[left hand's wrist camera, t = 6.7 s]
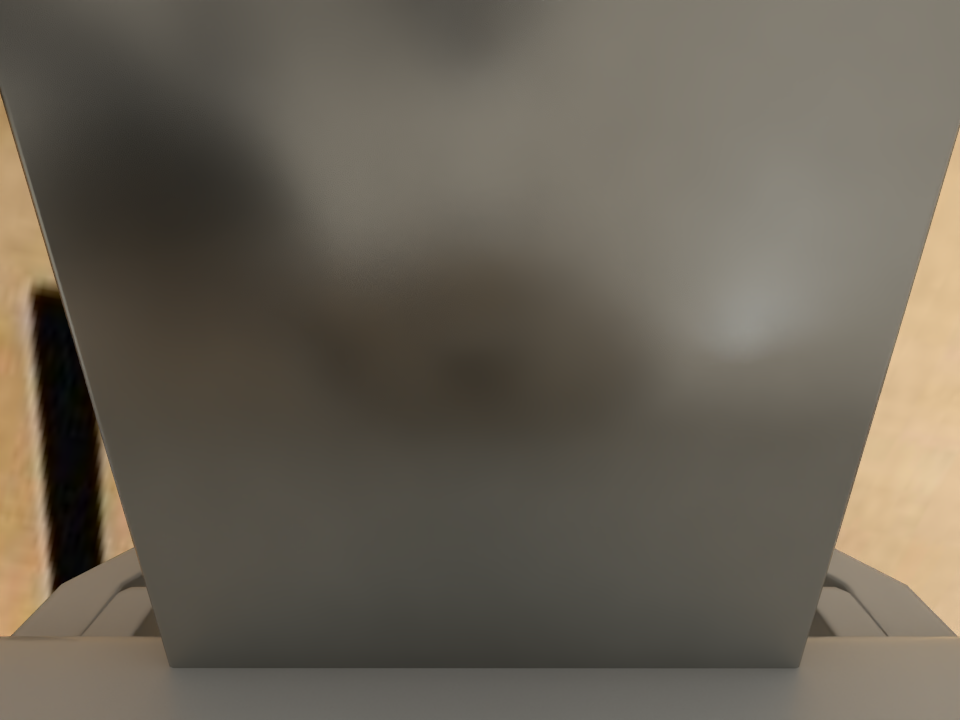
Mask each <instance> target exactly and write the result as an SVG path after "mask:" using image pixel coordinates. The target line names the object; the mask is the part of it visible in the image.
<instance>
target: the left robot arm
mask: <svg viewBox="0 0 960 720" xmlns="http://www.w3.org/2000/svg"><path fill="white" fill-rule="evenodd" d="M0 720H960V637H958V636H957V635H956V634H955V633H954V632H953V631H952V630H951V629H950V628H949V627H948V626H947V625H946V624H945V623H944V622H943V621H942V620H941V619H940V618H939V617H938V616H937V615H936V614H935V613H934V612H933V611H932V610H931V609H930V608H929V607H928V606H927V605H926V604H925V603H924V602H923V601H922V600H921V599H920V598H919V597H918V596H917V595H916V594H915V593H914V592H913V591H912V590H911V589H910V588H909V587H908V586H907V585H905V584H903V583H901V582H899V581H898V580H896V579H894V578H892V577H890V576H888V575H886V574H884V573H882V572H880V571H878V570H876V569H874V568H872V567H870V566H868V565H866V564H864V563H862V562H860V561H858V560H856V559H854V558H852V557H850V556H848V555H846V554H845V553H843V552H841V551H839V550H837V549H835V548H834V551H833V555H832V558H831V562H830V565H829V568H828V572H827V575H826V578H825V582H824V585H823V588H822V592H821V595H820V599H819V602H818V605H817V609H816V612H815V615H814V619H813V622H812V625H811V629H810V632H809V636H808V639H807V642H806V646H805V649H804V652H803V656H802V659H801V662H800V666H799V667H798V668H172V667H170V666H169V663H168V659H167V656H166V653H165V649H164V646H163V642H162V639H161V636H160V632H159V629H158V626H157V622H156V619H155V615H154V612H153V609H152V605H151V602H150V598H149V595H148V592H147V588H146V585H145V581H144V578H143V575H142V571H141V568H140V565H139V561H138V558H137V554H136V551H135V548H132V549H130V550H128V551H126V552H124V553H122V554H120V555H118V556H116V557H114V558H112V559H110V560H108V561H106V562H104V563H102V564H100V565H98V566H97V567H95V568H93V569H91V570H89V571H87V572H85V573H83V574H81V575H79V576H77V577H75V578H73V579H71V580H69V581H67V582H65V583H63V584H61V585H60V586H59V587H58V589H57V590H56V591H55V592H54V593H53V594H52V595H51V596H50V597H49V598H48V599H47V600H46V601H45V602H44V603H43V604H42V605H41V606H40V607H39V608H38V609H37V610H36V611H35V612H34V613H33V614H32V615H31V616H30V617H29V618H28V619H27V620H26V621H25V622H24V623H23V624H22V625H21V626H20V627H19V628H18V629H17V630H16V631H15V632H14V633H13V634H12V635H11V636H0Z"/></svg>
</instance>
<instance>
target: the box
mask: <svg viewBox="0 0 960 720" xmlns="http://www.w3.org/2000/svg"><path fill="white" fill-rule="evenodd" d="M0 94H1V97H2V100H3V104H4V107H5V110H6V114H7V117H8V121H9V124H10V127H11V131H12V134H13V138H14V141H15V144H16V148H17V151H18V155H19V158H20V161H21V165H22V168H23V171H24V175H25V178H26V182H27V185H28V188H29V192H30V195H31V199H32V202H33V205H34V209H35V212H36V216H37V219H38V222H39V226H40V229H41V232H42V236H43V239H44V243H45V246H46V249H47V253H48V256H49V260H50V263H51V266H52V270H53V273H54V277H55V280H56V283H57V287H58V290H59V293H60V297H61V300H62V304H63V307H64V310H65V314H66V317H67V321H68V324H69V327H70V331H71V334H72V338H73V341H74V344H75V348H76V351H77V354H78V358H79V361H80V365H81V368H82V371H83V375H84V378H85V382H86V385H87V388H88V392H89V395H90V398H91V402H92V405H93V409H94V412H95V415H96V419H97V422H98V426H99V429H100V432H101V436H102V439H103V443H104V446H105V449H106V453H107V456H108V459H109V463H110V466H111V470H112V473H113V476H114V480H115V483H116V487H117V490H118V493H119V497H120V500H121V504H122V507H123V510H124V514H125V517H126V520H127V524H128V527H129V531H130V534H131V537H132V541H133V544H134V548H135V551H136V554H137V558H138V561H139V565H140V568H141V571H142V575H143V578H144V581H145V585H146V588H147V592H148V595H149V598H150V602H151V605H152V609H153V612H154V615H155V619H156V622H157V626H158V629H159V632H160V636H161V639H162V642H163V646H164V649H165V653H166V656H167V659H168V663H169V666H170V667H172V668H798V667H799V666H800V662H801V659H802V656H803V652H804V649H805V646H806V642H807V639H808V636H809V632H810V629H811V625H812V622H813V619H814V615H815V612H816V609H817V605H818V602H819V599H820V595H821V592H822V588H823V585H824V582H825V578H826V575H827V572H828V568H829V565H830V562H831V558H832V555H833V551H834V548H835V545H836V541H837V538H838V535H839V531H840V528H841V525H842V521H843V518H844V514H845V511H846V508H847V504H848V501H849V498H850V494H851V491H852V488H853V484H854V481H855V477H856V474H857V471H858V467H859V464H860V461H861V457H862V454H863V451H864V447H865V444H866V440H867V437H868V434H869V430H870V427H871V424H872V420H873V417H874V414H875V410H876V407H877V404H878V400H879V397H880V393H881V390H882V387H883V383H884V380H885V377H886V373H887V370H888V367H889V363H890V360H891V356H892V353H893V350H894V346H895V343H896V340H897V336H898V333H899V330H900V326H901V323H902V319H903V316H904V313H905V309H906V306H907V303H908V299H909V296H910V293H911V289H912V286H913V282H914V279H915V276H916V272H917V269H918V266H919V262H920V259H921V256H922V252H923V249H924V245H925V242H926V239H927V235H928V232H929V229H930V225H931V222H932V219H933V215H934V212H935V208H936V205H937V202H938V198H939V195H940V192H941V188H942V185H943V182H944V178H945V175H946V171H947V168H948V165H949V161H950V158H951V155H952V151H953V148H954V145H955V141H956V138H957V135H958V131H959V128H960V0H0Z"/></svg>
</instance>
